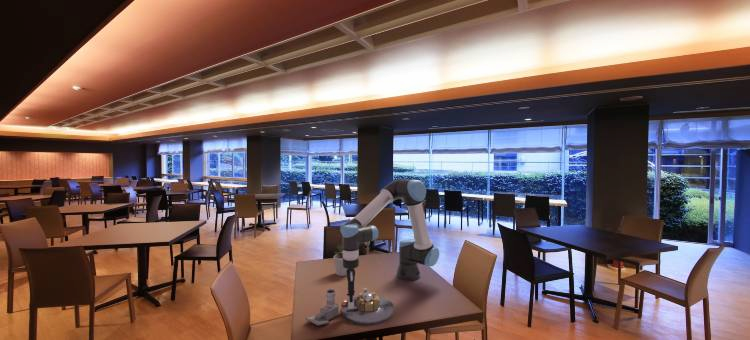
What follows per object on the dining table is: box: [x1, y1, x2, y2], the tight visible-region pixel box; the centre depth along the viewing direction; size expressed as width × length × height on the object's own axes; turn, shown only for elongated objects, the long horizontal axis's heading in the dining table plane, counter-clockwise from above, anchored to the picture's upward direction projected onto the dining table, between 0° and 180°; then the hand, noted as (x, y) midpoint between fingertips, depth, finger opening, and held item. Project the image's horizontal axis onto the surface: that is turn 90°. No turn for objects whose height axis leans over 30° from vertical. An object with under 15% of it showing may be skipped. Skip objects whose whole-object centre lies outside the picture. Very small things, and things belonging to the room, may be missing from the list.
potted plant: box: [332, 244, 348, 277], centre depth 189 cm, size 13×14×20 cm
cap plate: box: [341, 287, 395, 326], centre depth 140 cm, size 25×25×8 cm
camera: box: [304, 288, 339, 326], centre depth 132 cm, size 9×12×15 cm
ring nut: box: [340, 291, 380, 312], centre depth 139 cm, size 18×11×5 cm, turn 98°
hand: (351, 307), depth 136 cm, fingers closed
